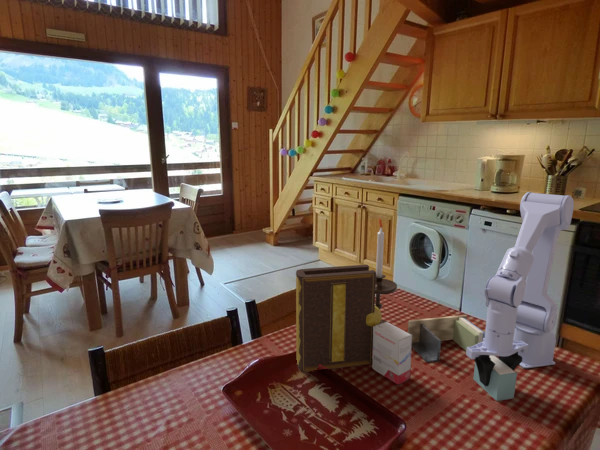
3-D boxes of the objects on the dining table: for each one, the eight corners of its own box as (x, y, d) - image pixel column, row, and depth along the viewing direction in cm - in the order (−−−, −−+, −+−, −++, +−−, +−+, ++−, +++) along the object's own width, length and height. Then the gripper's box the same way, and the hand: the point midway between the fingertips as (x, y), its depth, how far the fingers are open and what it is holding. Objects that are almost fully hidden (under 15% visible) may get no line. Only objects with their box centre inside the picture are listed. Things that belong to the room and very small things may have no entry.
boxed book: (489, 377, 91) (492, 353, 89) (513, 398, 83) (517, 372, 82) (473, 379, 90) (475, 354, 89) (496, 400, 82) (499, 374, 81)
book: (300, 375, 91) (300, 279, 86) (294, 356, 99) (293, 268, 94) (384, 364, 96) (388, 273, 91) (371, 347, 104) (375, 262, 99)
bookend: (421, 343, 106) (422, 323, 105) (439, 361, 97) (441, 340, 96) (409, 344, 106) (411, 325, 104) (426, 362, 97) (428, 341, 95)
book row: (462, 338, 109) (464, 316, 107) (483, 355, 100) (486, 331, 98) (452, 339, 108) (454, 317, 107) (473, 356, 99) (475, 332, 98)
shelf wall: (463, 336, 110) (465, 314, 108) (464, 338, 109) (466, 316, 108) (406, 342, 106) (408, 320, 105) (408, 344, 106) (409, 321, 104)
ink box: (411, 379, 90) (414, 334, 87) (396, 386, 87) (399, 340, 85) (384, 362, 97) (386, 320, 95) (370, 368, 94) (372, 325, 92)
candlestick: (367, 338, 109) (372, 222, 102) (353, 321, 119) (357, 215, 112) (401, 334, 111) (407, 220, 104) (384, 318, 122) (390, 213, 114)
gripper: (514, 317, 89) (508, 368, 91) (460, 323, 86) (455, 375, 89) (538, 331, 82) (530, 386, 85) (480, 338, 79) (474, 394, 82)
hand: (493, 382), depth 86 cm, fingers closed on boxed book, 4 cm apart
